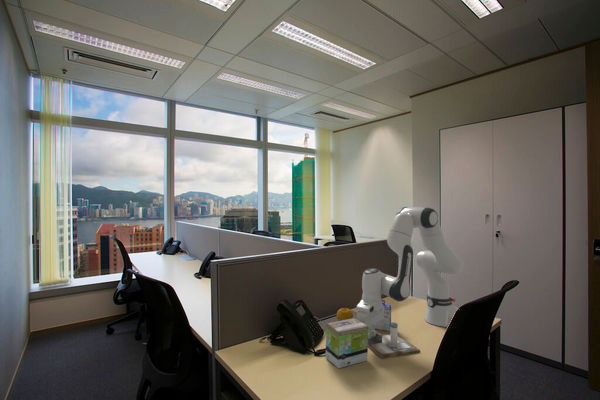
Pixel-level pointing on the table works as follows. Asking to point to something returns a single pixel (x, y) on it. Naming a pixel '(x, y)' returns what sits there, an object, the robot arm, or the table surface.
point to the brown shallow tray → (384, 349)
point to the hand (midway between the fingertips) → (371, 333)
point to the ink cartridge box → (385, 318)
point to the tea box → (346, 342)
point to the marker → (393, 335)
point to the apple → (344, 314)
